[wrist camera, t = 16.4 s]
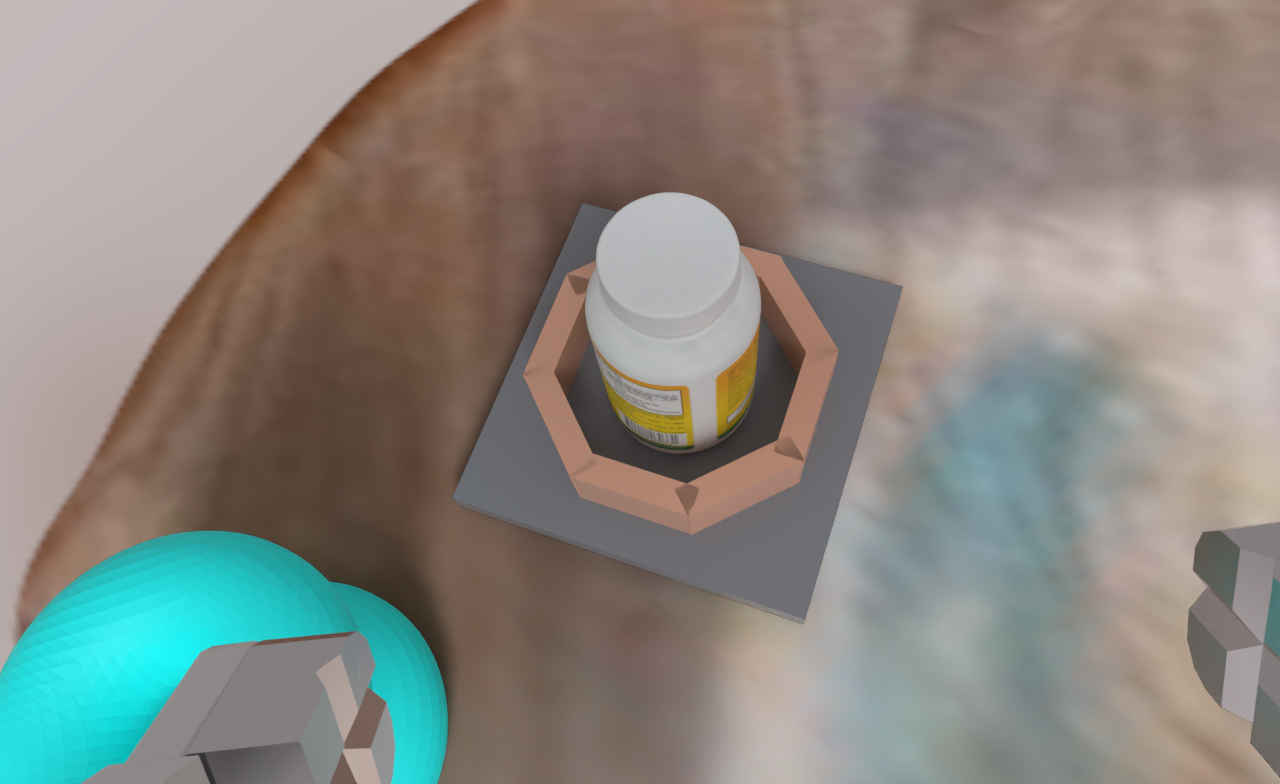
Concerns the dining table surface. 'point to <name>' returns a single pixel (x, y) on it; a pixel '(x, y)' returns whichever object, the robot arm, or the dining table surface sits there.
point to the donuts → (192, 652)
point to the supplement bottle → (674, 322)
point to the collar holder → (700, 481)
